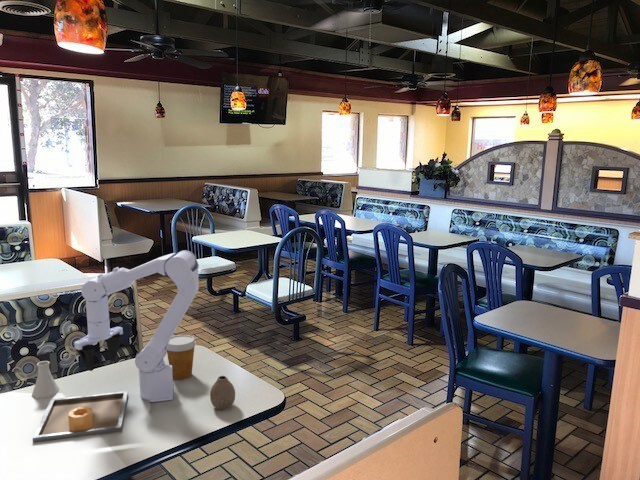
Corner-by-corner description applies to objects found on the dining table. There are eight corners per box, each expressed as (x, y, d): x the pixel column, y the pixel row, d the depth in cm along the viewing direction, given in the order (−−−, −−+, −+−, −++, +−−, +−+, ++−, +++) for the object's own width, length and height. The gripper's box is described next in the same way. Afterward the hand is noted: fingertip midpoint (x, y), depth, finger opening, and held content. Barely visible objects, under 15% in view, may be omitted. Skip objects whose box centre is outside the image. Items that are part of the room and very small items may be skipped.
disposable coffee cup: (192, 367, 170) (191, 332, 167) (200, 378, 161) (199, 342, 159) (163, 372, 165) (161, 337, 163) (169, 384, 157) (167, 347, 155)
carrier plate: (128, 397, 149) (128, 394, 149) (121, 434, 130) (121, 431, 130) (51, 405, 144) (51, 403, 144) (33, 445, 125) (32, 442, 125)
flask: (48, 402, 145) (45, 369, 144) (25, 400, 147) (22, 367, 145) (65, 391, 152) (62, 359, 151) (43, 388, 154) (41, 356, 152)
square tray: (128, 394, 149) (127, 390, 149) (121, 431, 130) (120, 427, 130) (51, 403, 144) (51, 399, 143) (32, 442, 125) (32, 438, 124)
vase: (240, 406, 145) (240, 377, 143) (220, 415, 140) (219, 385, 138) (225, 398, 149) (224, 369, 148) (205, 406, 144) (204, 377, 143)
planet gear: (93, 419, 135) (92, 405, 134) (91, 430, 130) (89, 415, 129) (72, 422, 134) (70, 408, 133) (68, 433, 129) (67, 418, 128)
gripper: (110, 310, 154) (113, 353, 156) (65, 324, 141) (69, 371, 144) (126, 314, 150) (129, 358, 153) (82, 329, 138) (86, 376, 141)
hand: (101, 364), depth 148 cm, fingers open, 7 cm apart
